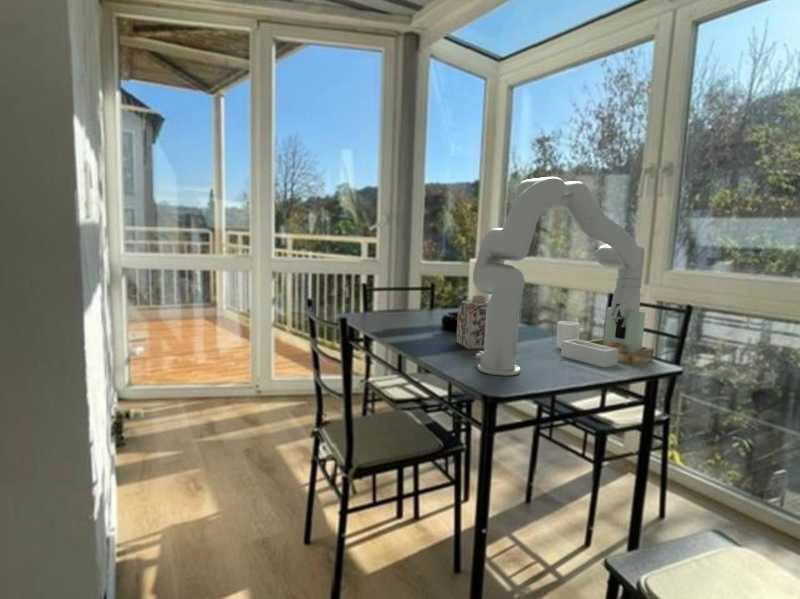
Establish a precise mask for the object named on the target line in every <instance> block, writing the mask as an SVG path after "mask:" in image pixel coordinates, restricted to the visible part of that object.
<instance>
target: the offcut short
mask: <svg viewBox="0 0 800 599" xmlns="http://www.w3.org/2000/svg"><path fill="white" fill-rule="evenodd" d="M608 347H612V348H617V349H619V351H620V352H623V351H626V349H627V345H625V344H620V343H616V342H610V343H608Z"/></svg>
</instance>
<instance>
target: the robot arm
mask: <svg viewBox="0 0 800 599" xmlns="http://www.w3.org/2000/svg"><path fill="white" fill-rule="evenodd" d="M515 198H516V199H515V201H513V203H512V205H511V207H510V210H509V212H508V215H507V219H506V221H505V224H504V226H503V227H497V228H492V229H490V230H489V231H488V232H487V233H486V234H485V235H484V237H483V239H482V242H481V243H480V247H479V250H478V253H477V254H478V255H477V258H476V262H475V265H474V267H473V268H474V269H473V273H472V280H473V281H472V283H473V285H474V288H476V290H478V291H479V292H481V293H485V294H488V295H491V296H490V299H489V300H488V301H489V302H488V305H487V309H486V323H485V340H484V349H483V350H479V351H478V353H476V354H475V358H477V359H480V362H479V363H477V370H478V371H480V372H481V373H485V374H488V375H494V376H503V377H505V376H515V375H518V374H520V373H521V367H520V366H519V365H517V364H516V361H517V346H518V336H519V334H518V332H519V318H520V307H521V300H522V296H523V293H524V289H525V284H526V282H525V277H524V274H523V272H522V270H520V269H519V268H518V267H516V266H514V265H512V264H507V263H506V264H505V261H510V262H515V261H516V262H519V261H522V260H524V259H525V258H526V257H527V255H528V253H529V250H530V247H531V244H532V240H533V237H534V232H535V229H536V228H537V227H536V226H537V224H538V221H539V219H540V217H541V215H542V214H543V212H544V211H546V210H549V211H550V210H557V211H560V210H561V211H562V210H564V211H565V210H566V211H567V213H568V214H569V215H570V217H571V218H572V219H573V221H574V223H575V224H576V226H577V227H578V229H579V231H581V233H583V234H584V235H585V236H588V237H590V238H592V239H595V240H598V241H600V242H601V243H602V242H603V243H604V244H602V245H601V246H600V247H598V248H597V250H596V253H595V259H596V262H597V263H598V264H599V265H600V266H603V267H606V268H613V269H617V275H616V276H617V278H616V286H615V287H614V288H615V289H614V291H613V295H612V300H611V306H610V307H611V316H613V317H612V319H613V320H614V321H615V326H616V332H615V337H616V338H620V339H624V338H625V330H626V327H625V321H626V318H627V317H629V313H630V311H638V312H640V305H641V288H642V279H643V271H644V262H645V252H646V251H645V248H644V247H643V246H638V244H637V242H636V241H635V239H634V238H633V236H632V234H630V233H629V232H628V231H627V230H626V229H625V228H623V227H622V226H621V225H619V223H617V222H616V221H614V220H613V219H611V218H609V217H608V216H607V215H606V214H605V212H604V211H603V209H602V208H601V206H600V203H598V201H597V200H596V198H595V196H594V195H593V194H592V192H591V190H590V189H589V187H588V186H587V184H586V183H584V182H582V181H566V182H565V181H564V179H561V178H559V177H556V176H546V177H539V178H538V177H537V178H530V179H525V180H523V181H521V182H519V184H518V185H517V187H516V189H515ZM620 315H621V317H620ZM621 319H622V321H621Z"/></svg>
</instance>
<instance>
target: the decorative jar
mask: <svg viewBox="0 0 800 599" xmlns="http://www.w3.org/2000/svg"><path fill="white" fill-rule="evenodd" d="M488 302H489V300H487V296H486V295H481V294H477V295H476V294H475V295H473V296H472V299H465V300H463V301H461V302H460V304H459V305H458V306H457V308H458V309H457V322H456V323H457V324H456V325H457V326H456V343H457V344H459V345H461V346H462V347H464V348H466V349H467V350H480V349H481V350H484V340H485V323H486V309H487V305H488Z"/></svg>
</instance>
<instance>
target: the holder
mask: <svg viewBox="0 0 800 599" xmlns="http://www.w3.org/2000/svg"><path fill="white" fill-rule="evenodd" d="M586 341H587V340H581V339H578V340H577V339H573V340H566V341H562V349H561V354H560V355H561V357H563V358H567V359H571V360H574V361H579V362H582V363H585V364H586V363H587V364H590V365H594V366H598V367H601V368H608V367H613V366H618V363H619V362H618V352H619V349H617V348H612V347H608V346H603V345H599V344H595V343H590V342H586Z"/></svg>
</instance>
